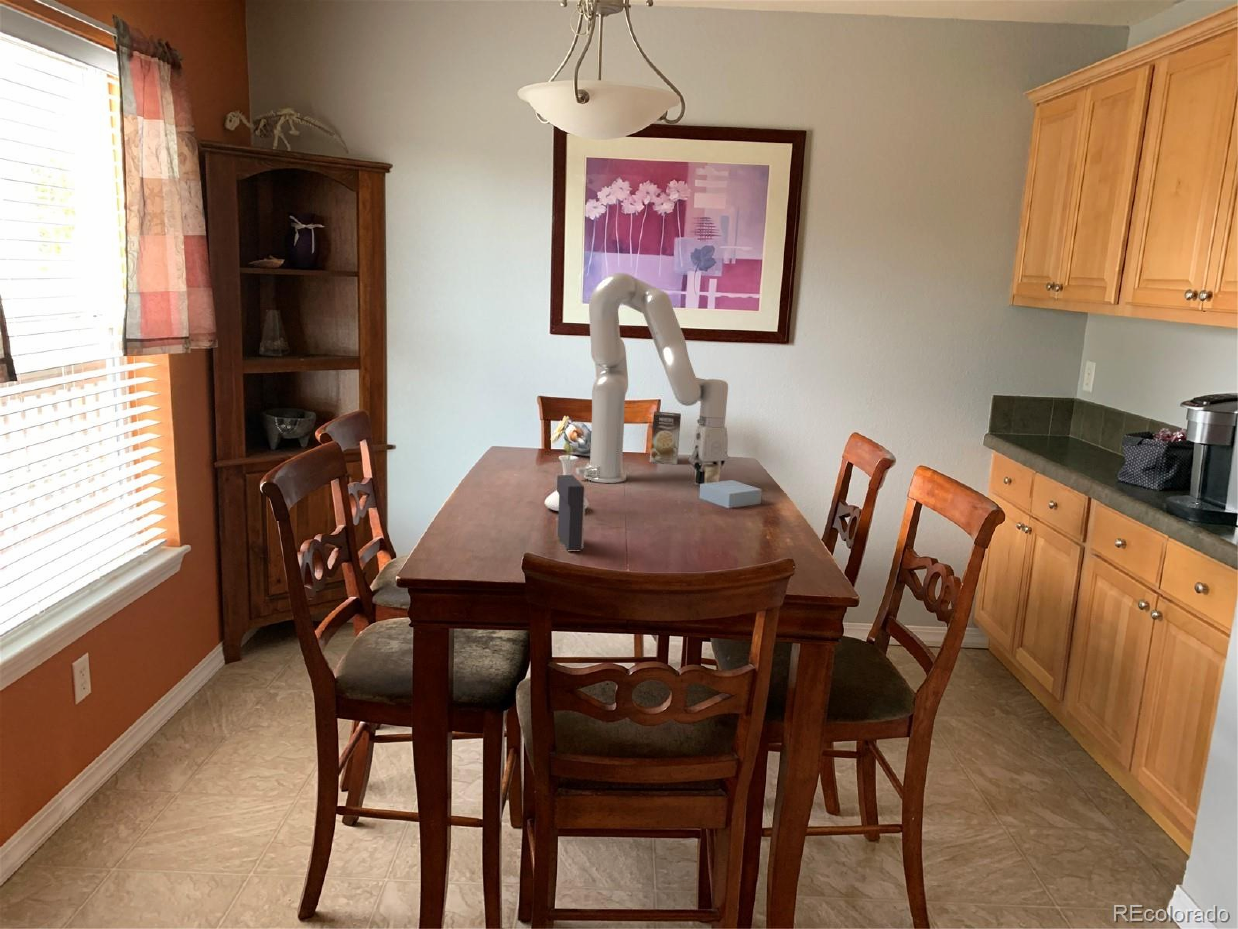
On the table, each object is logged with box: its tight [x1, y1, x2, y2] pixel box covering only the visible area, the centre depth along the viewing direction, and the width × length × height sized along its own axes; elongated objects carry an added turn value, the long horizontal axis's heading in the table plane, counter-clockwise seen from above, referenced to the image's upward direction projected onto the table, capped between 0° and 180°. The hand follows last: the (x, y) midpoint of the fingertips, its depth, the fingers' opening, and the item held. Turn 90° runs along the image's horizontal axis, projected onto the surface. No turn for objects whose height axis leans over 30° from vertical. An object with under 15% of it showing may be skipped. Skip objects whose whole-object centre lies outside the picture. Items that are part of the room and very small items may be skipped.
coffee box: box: [649, 411, 682, 465], centre depth 297 cm, size 9×6×16 cm
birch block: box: [694, 462, 721, 486], centre depth 268 cm, size 5×5×6 cm
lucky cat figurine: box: [563, 419, 591, 457], centre depth 301 cm, size 15×12×14 cm
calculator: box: [556, 474, 586, 551], centre depth 204 cm, size 11×4×15 cm, turn 17°
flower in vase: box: [544, 415, 590, 512], centre depth 231 cm, size 13×11×25 cm
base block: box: [698, 479, 763, 509], centre depth 252 cm, size 12×12×4 cm
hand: (706, 482), depth 268 cm, fingers closed on birch block, 5 cm apart
